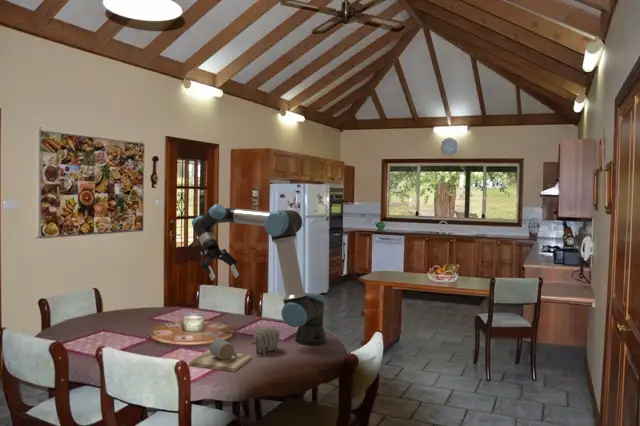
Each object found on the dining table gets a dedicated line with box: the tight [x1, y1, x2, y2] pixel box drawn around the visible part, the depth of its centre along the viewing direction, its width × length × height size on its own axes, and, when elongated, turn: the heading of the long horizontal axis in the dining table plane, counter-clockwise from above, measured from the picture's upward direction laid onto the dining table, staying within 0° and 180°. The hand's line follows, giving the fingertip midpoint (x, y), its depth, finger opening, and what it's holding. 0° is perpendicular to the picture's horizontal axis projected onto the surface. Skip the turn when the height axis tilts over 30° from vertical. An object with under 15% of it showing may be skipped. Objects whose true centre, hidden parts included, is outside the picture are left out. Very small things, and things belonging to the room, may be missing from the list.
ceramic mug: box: [209, 337, 238, 360], centre depth 227 cm, size 11×8×8 cm
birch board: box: [188, 349, 253, 373], centre depth 226 cm, size 20×18×2 cm
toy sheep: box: [250, 326, 281, 356], centre depth 242 cm, size 11×17×11 cm, turn 147°
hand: (225, 277), depth 259 cm, fingers open, 13 cm apart
